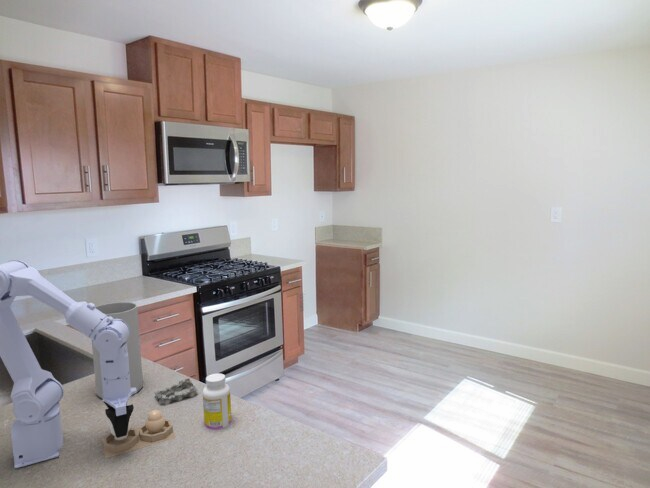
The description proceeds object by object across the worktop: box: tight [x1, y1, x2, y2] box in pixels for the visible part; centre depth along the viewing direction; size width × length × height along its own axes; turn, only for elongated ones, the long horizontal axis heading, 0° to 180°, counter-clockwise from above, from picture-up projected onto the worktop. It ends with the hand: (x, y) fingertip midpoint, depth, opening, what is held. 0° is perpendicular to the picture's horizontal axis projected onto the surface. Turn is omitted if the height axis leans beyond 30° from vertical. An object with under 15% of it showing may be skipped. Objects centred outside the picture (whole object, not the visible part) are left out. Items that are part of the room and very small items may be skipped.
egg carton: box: [153, 377, 199, 406], centre depth 124 cm, size 11×8×4 cm
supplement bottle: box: [202, 373, 233, 430], centre depth 109 cm, size 7×7×13 cm
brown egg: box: [144, 409, 166, 435], centre depth 105 cm, size 4×4×6 cm
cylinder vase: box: [91, 301, 144, 399], centre depth 128 cm, size 12×12×25 cm
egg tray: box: [101, 418, 177, 459], centre depth 104 cm, size 15×9×2 cm, turn 120°
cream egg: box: [109, 419, 132, 441], centre depth 101 cm, size 4×4×6 cm
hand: (120, 430), depth 101 cm, fingers closed on cream egg, 4 cm apart
